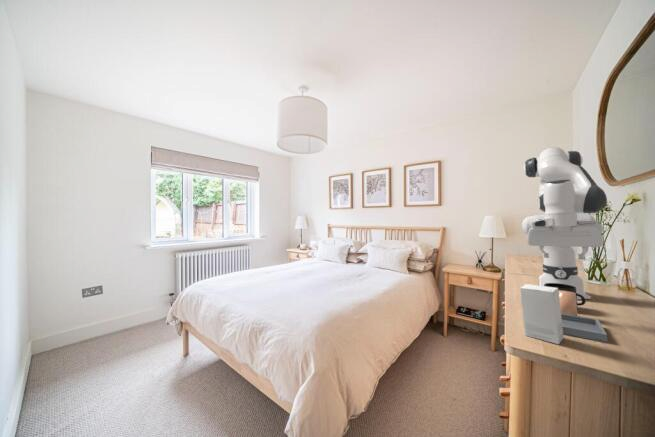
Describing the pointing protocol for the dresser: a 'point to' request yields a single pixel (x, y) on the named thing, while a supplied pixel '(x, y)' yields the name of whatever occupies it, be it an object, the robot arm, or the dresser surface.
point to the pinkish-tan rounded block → (568, 302)
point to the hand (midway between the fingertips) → (563, 258)
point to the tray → (583, 328)
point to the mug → (567, 288)
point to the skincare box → (542, 313)
